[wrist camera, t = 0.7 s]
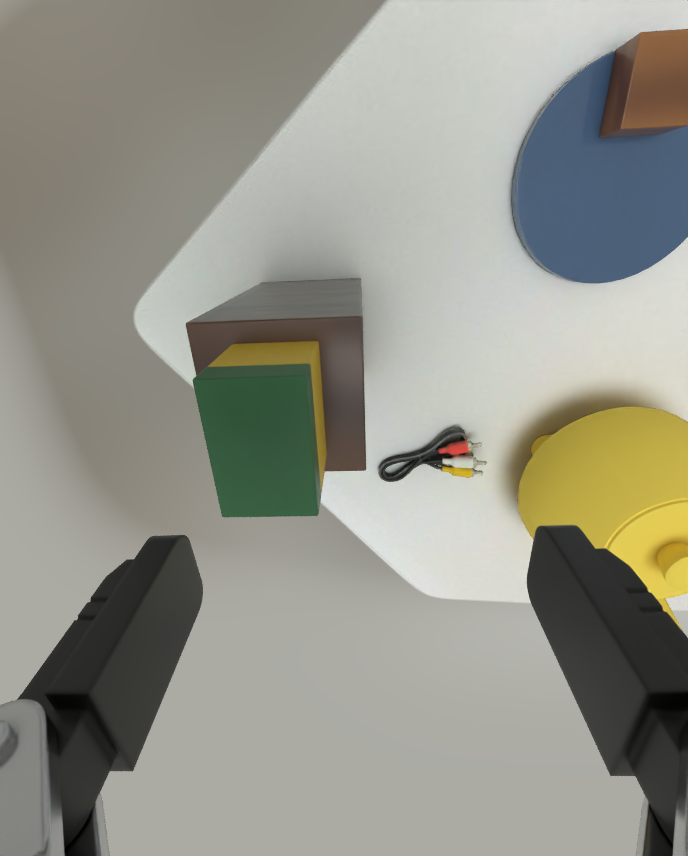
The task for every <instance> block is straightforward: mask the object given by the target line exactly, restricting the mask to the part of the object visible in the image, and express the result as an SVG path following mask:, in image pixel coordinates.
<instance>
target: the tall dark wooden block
mask: <svg viewBox="0 0 688 856" xmlns="http://www.w3.org/2000/svg"><path fill="white" fill-rule="evenodd" d="M186 328H187V333H188V338H189V342H190V347H191V352H192V357H193V361H194V366H195V371H196V375H198V374H199V373H201V372H202V371H203V370H204V369H205V368H206V367H208V366H209V365H210V364H211V363H212V362H213V361H214V360H215V359H217V358H218V357H219V356H220V355H221V354H222V353H223V352H224V351H225V350H227V349H228V348H229V347H230V346H231V345H232V344H244V343H272V342H301V341H318V342H319V351H320V365H321V380H322V394H323V408H324V422H325V436H326V450H327V457H326V464H325V471H364V470H366V443H365V399H364V355H363V315H362V293H361V279H360V278H358V279H335V280H311V281H288V282H264V283H261V284H259V285H257V286H255V287H253V288H251V289H249V290H247V291H246V292H244V293H242V294H240V295H238V296H236V297H234V298H232V299H230V300H229V301H227V302H225V303H223V304H221V305H219V306H217V307H215V308H214V309H212V310H210V311H208V312H206V313H204V314H202V315H200V316H199V317H197V318H195V319H193V320H191V321H189V322H187V323H186Z"/></svg>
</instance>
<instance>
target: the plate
mask: <svg viewBox="0 0 688 856" xmlns="http://www.w3.org/2000/svg"><path fill="white" fill-rule="evenodd" d="M615 52H616V51H614V52H612V53H610V54H607V55H605V56H603V57H601V58H600V59H598V60H596V61H595V62H593V63H592V64H590V65H588V66H587V67H585V68H584V69H583V70H581V71H580V72H579V73H577V74H576V75H575V76H574V77H572V78H571V79H570V80H569V81H567V82H566V83H565V84H564V85H563V86H562V87H561V88H560V89H559V90H558V91H557V92H556V93H555V94H554V95H553V96H552V98H551V99H550V100H549V101H548V103H547V104H546V105H545V106H544V107H543V109H542V110H541V112H540V113H539V115H538V116H537V118H536V119H535V121H534V122H533V124H532V126H531V128H530V130H529V132H528V134H527V136H526V138H525V140H524V143H523V145H522V148H521V150H520V153H519V156H518V160H517V163H516V166H515V171H514V177H513V183H512V212H513V218H514V223H515V227H516V230H517V233H518V236H519V238H520V240H521V242H522V244H523V246H524V248H525V249H526V251H527V252H528V253H529V255H530V256H531V257H532V258H533V259H534V260H535V261H536V262H537V263H538V264H539V265H540V266H541V267H543V268H544V269H545V270H547V271H548V272H550V273H552V274H554V275H556V276H558V277H561V278H564V279H567V280H571V281H576V282H582V283H605V282H612V281H616V280H620V279H624V278H627V277H629V276H632V275H635V274H637V273H639V272H641V271H643V270H645V269H647V268H649V267H651V266H652V265H654V264H656V263H657V262H659V261H660V260H662V259H663V258H664V257H666V256H667V255H668V254H670V253H671V252H672V251H673V250H675V249H676V248H677V247H678V246H679V245H680V244H681V243H682V242H683V241H684V240H685V239H686V238H687V237H688V125H687V126H684V127H681V128H678V129H675V130H672V131H669V132H666V133H663V134H656V135H639V136H621V137H604V138H600V137H599V136H600V130H601V125H602V120H603V115H604V109H605V104H606V99H607V94H608V88H609V83H610V78H611V73H612V67H613V62H614V57H615Z"/></svg>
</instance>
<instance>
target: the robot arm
mask: <svg viewBox="0 0 688 856" xmlns="http://www.w3.org/2000/svg"><path fill="white" fill-rule="evenodd" d="M527 588H528V593H529V598H530V601H531V604H532V606H533V608H534V610H535V612H536V615H537V617H538V619H539V621H540V623H541V626H542V628H543V630H544V632H545V634H546V636H547V639H548V641H549V643H550V645H551V647H552V650H553V652H554V654H555V656H556V658H557V660H558V663H559V665H560V667H561V669H562V671H563V673H564V676H565V678H566V680H567V682H568V684H569V686H570V688H571V691H572V693H573V695H574V697H575V699H576V702H577V704H578V706H579V708H580V710H581V713H582V715H583V717H584V719H585V721H586V723H587V725H588V728H589V730H590V732H591V734H592V736H593V739H594V741H595V743H596V745H597V747H598V750H599V752H600V754H601V756H602V758H603V760H604V762H605V765H606V767H607V769H608V771H609V773H610V775H611V776H636V778H637V780H638V782H639V784H640V786H641V788H642V790H643V792H644V794H645V798H644V801H643V804H642V810H641V818H640V827H639V834H638V842H637V850H636V856H688V638H687V636H686V635H685V634H684V633H683V631H682V630H681V629H680V628H679V626H678V625H677V624H676V623H675V621H674V620H673V619H672V618H671V616H670V615H669V614H668V613H667V612H664V611H663V606H662V605H661V604H660V603H659V601H658V600H657V599H656V598H655V596H654V595H653V594H652V593H649V592H648V588H647V586H646V585H645V584H644V583H643V581H642V580H641V579H640V578H639V577H638V575H637V574H636V573H635V572H634V570H633V569H632V568H631V567H630V566H629V565H628V564H626V563H625V562H624V561H622V560H621V559H620V558H618V557H617V556H615V555H614V554H613V553H611V552H610V551H609V550H607V549H606V548H598V549H595V548H594V546H593V545H592V543H591V542H590V541H589V539H588V538H587V537H586V535H585V534H584V533H583V531H582V530H581V529H580V528H579V527H578V526H576V525H547V526H538V527H537V529H536V531H535V536H534V541H533V546H532V552H531V557H530V563H529V568H528V573H527ZM202 595H203V586H202V580H201V577H200V573H199V570H198V567H197V563H196V560H195V557H194V554H193V550H192V547H191V544H190V541H189V539H188V537H187V536H185V535H172V536H152V537H150V538H149V539H148V540H147V541H146V543H145V544H144V546H143V547H142V549H141V550H140V552H139V553H138V555H137V556H136V557H135V559H133V560H126V561H125V562H124V563H122V564H121V565H120V566H119V567H118V568H116V569H115V570H114V571H113V572H112V573H110V574H109V575H108V576H107V577H106V578H105V579H104V580H103V582H102V583H101V584H100V586H99V587H98V589H97V590H96V592H95V593H94V594H93V596H92V597H91V602H88V603H87V604H86V605H85V607H84V608H83V609H82V611H81V612H80V614H79V615H78V620H76V621H74V622H73V623H72V625H71V626H70V628H69V629H68V630H67V632H66V633H65V635H64V636H63V637H62V639H61V640H60V641H59V643H58V644H57V646H56V647H55V648H54V650H53V651H52V653H51V654H50V655H49V657H48V658H47V660H46V661H45V662H44V664H43V665H42V667H41V668H40V669H39V671H38V672H37V673H36V675H35V676H34V678H33V679H32V680H31V682H30V683H29V685H28V686H27V687H26V689H25V690H24V692H23V693H22V694H21V695H20V697H19V698H18V699H17V700H15V701H11V702H8V703H5V704H2V705H0V856H110V854H109V846H108V840H107V831H106V824H105V816H104V809H103V801H102V797H101V794H100V791H101V789H102V786H103V784H104V782H105V780H106V778H107V776H108V773H109V771H133V770H134V767H135V765H136V762H137V760H138V757H139V755H140V752H141V750H142V748H143V745H144V743H145V741H146V738H147V735H148V733H149V731H150V728H151V726H152V723H153V721H154V719H155V716H156V714H157V711H158V709H159V707H160V704H161V702H162V699H163V697H164V694H165V692H166V690H167V687H168V685H169V682H170V680H171V677H172V675H173V673H174V670H175V668H176V665H177V663H178V661H179V658H180V656H181V653H182V651H183V649H184V646H185V644H186V641H187V639H188V637H189V634H190V632H191V629H192V627H193V624H194V622H195V620H196V617H197V615H198V612H199V610H200V606H201V603H202Z"/></svg>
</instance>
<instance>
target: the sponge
mask: <svg viewBox="0 0 688 856" xmlns="http://www.w3.org/2000/svg"><path fill="white" fill-rule="evenodd" d="M193 384H194V389H195V394H196V398H197V403H198V407H199V412H200V416H201V421H202V426H203V430H204V435H205V439H206V444H207V449H208V453H209V458H210V463H211V467H212V472H213V476H214V481H215V486H216V490H217V495H218V500H219V504H220V508H221V513H222V517H265V516H266V517H270V516H271V517H273V516H317V515H318V514H319V507H320V500H321V492H322V485H323V478H324V471H325V464H326V457H327V450H326V436H325V422H324V408H323V394H322V380H321V365H320V351H319V342H318V341H301V342H272V343H244V344H232V345H231V346H230V347H229V348H228V349H227V350H225V351H224V352H223V353H222V354H221V355H220V356H219V357H218V358H217V359H215V360H214V361H213V362H212V363H211V364H210V365H209V366H208V367H206V368H205V369H204V370H203V371H202V372H201V373H199V374H198V375H197V376H196V377H195V378H194V379H193Z"/></svg>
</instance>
